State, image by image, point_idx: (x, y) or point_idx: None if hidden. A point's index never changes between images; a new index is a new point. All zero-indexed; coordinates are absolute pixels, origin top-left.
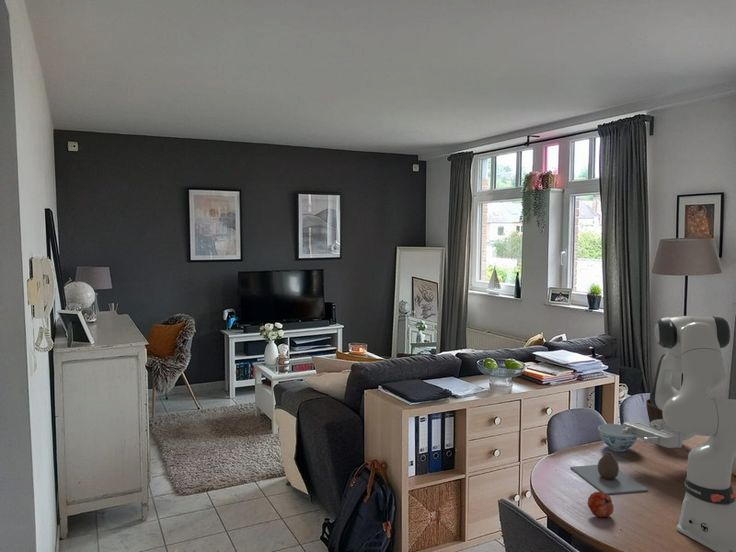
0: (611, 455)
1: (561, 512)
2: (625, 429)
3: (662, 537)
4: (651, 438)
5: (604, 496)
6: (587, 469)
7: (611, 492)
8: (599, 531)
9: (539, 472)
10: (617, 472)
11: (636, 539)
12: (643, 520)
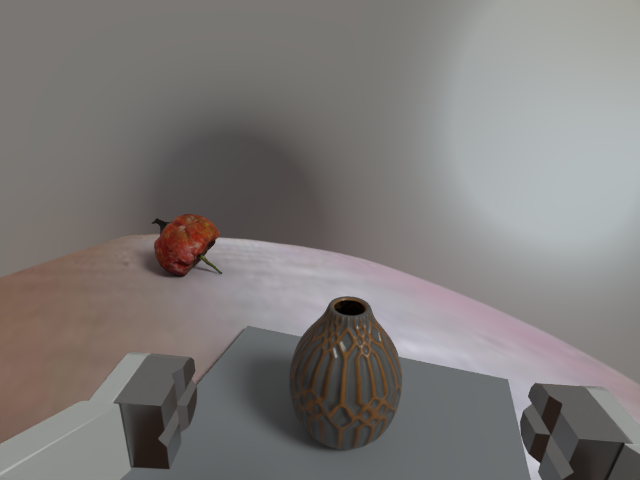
0: (327, 308)
1: (257, 244)
2: (615, 420)
3: (16, 288)
4: (73, 411)
5: (175, 220)
6: (466, 416)
7: (235, 341)
8: None
9: (474, 302)
10: (290, 392)
11: (81, 260)
12: (80, 307)
